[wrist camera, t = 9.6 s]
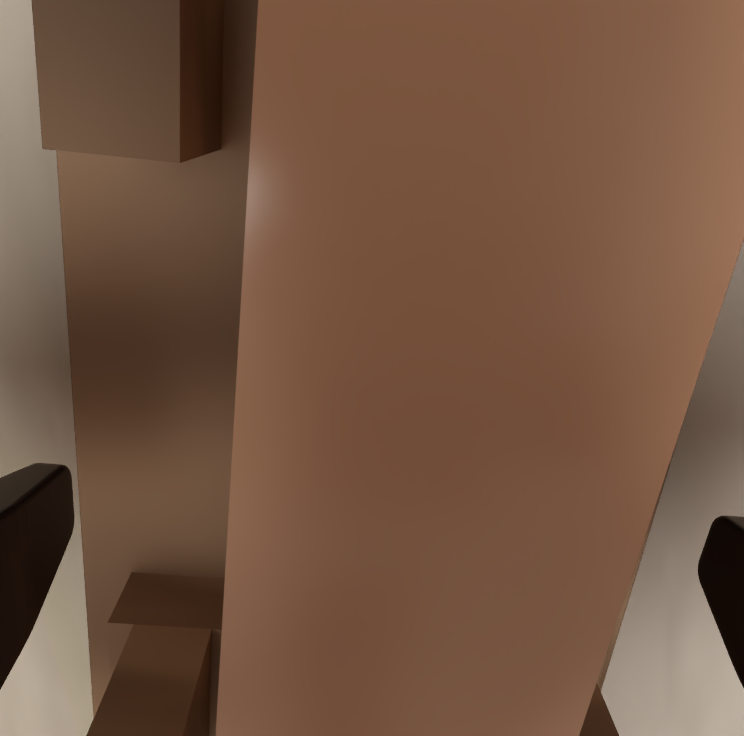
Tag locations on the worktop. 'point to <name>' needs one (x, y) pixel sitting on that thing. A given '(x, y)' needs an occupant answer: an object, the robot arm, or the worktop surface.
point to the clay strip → (465, 348)
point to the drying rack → (158, 335)
